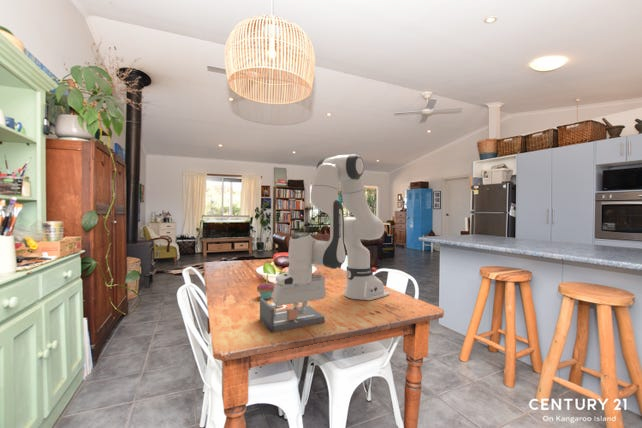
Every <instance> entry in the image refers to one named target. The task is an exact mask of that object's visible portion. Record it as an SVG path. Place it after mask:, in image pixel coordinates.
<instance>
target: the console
mask: <svg viewBox="0 0 642 428" xmlns="http://www.w3.org/2000/svg"><path fill="white" fill-rule="evenodd" d="M269 304H270V303H268V302H267V301H266V299H263V298H261V297H260V298H259V320H260V321H261V323H263V325H264V326H265V327H266V329H268V331H269V332H270V333H276V332H281V331H285V330H290V329H291V330H292V329H296V328H300V327H306V326H310V325H316V324H321V323H325V321H326V320H325V319H326V318H325V316H324V315H323V314H322V313H320V312H319V311H317V310H316V309H315V308H313V307H311V306H310V305H307V306H306V307H305V309H304V313H303V314H297V319H295V320H288V319H287V308H285V309H280V310H276V314H275V315H274V309H273V308H272V307H271V306H270V305H269ZM297 307H298V308H301V306H297Z"/></svg>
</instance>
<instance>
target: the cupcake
mask: <svg viewBox="0 0 642 428" xmlns="http://www.w3.org/2000/svg"><path fill="white" fill-rule="evenodd" d="M266 274H267V275H266V279H265V280H266V282H262V283H260V284H259V285H258V286H257V287H256V291H257V293H259V296H260V298H263V299H264V300H269V299H270V300H271V298H272V297H273V291H274V286H275V284H273V283H271V282H268V281H269V275H268V273H266Z"/></svg>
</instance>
